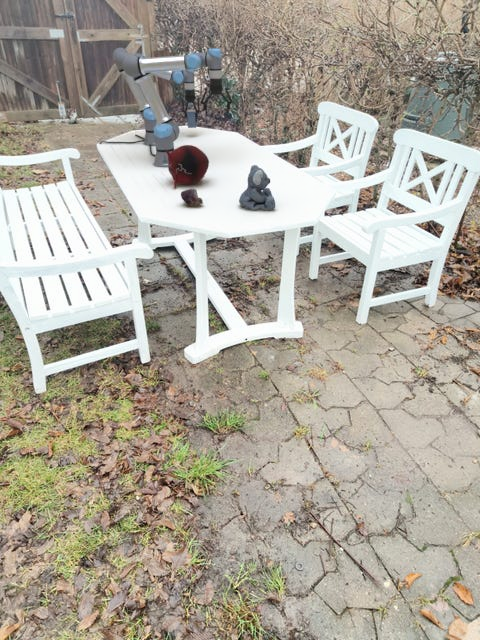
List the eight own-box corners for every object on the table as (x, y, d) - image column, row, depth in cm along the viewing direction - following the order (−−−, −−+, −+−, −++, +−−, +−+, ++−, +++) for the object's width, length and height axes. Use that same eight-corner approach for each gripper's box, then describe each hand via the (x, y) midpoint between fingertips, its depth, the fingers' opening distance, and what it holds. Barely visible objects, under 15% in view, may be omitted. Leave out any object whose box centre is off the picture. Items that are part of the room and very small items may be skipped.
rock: (196, 202, 238) (178, 205, 233) (194, 185, 234) (176, 188, 230) (205, 205, 228) (187, 208, 224) (203, 188, 224) (185, 191, 220)
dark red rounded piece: (166, 150, 266) (161, 149, 242) (205, 142, 265) (203, 139, 241) (175, 187, 273) (171, 189, 249) (213, 178, 272) (212, 180, 248)
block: (195, 127, 350) (194, 111, 343) (187, 127, 350) (186, 111, 343) (196, 125, 357) (195, 109, 351) (188, 125, 357) (187, 109, 350)
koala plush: (276, 211, 223) (277, 171, 212) (240, 212, 222) (240, 172, 211) (271, 199, 237) (272, 161, 226) (237, 200, 236) (237, 162, 225)
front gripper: (235, 77, 278) (236, 114, 290) (195, 77, 277) (197, 114, 289) (236, 78, 272) (236, 116, 284) (195, 79, 271) (197, 117, 283)
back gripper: (202, 88, 342) (204, 120, 355) (177, 88, 341) (179, 121, 354) (202, 89, 336) (204, 122, 349) (176, 90, 335) (179, 123, 348)
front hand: (217, 115), depth 287 cm, fingers open, 13 cm apart
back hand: (191, 121), depth 351 cm, fingers closed on block, 6 cm apart
